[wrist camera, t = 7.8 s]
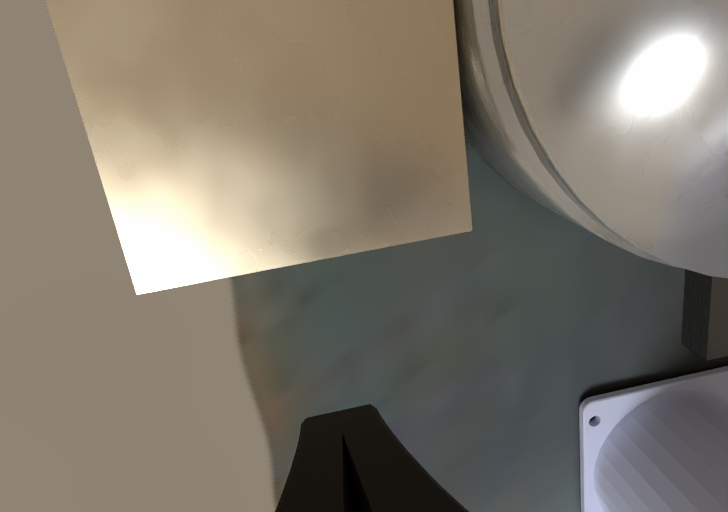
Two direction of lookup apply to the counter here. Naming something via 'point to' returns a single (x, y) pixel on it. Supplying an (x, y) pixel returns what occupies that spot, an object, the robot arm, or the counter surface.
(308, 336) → the counter surface
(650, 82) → the cooker lid
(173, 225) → the cooker pot
